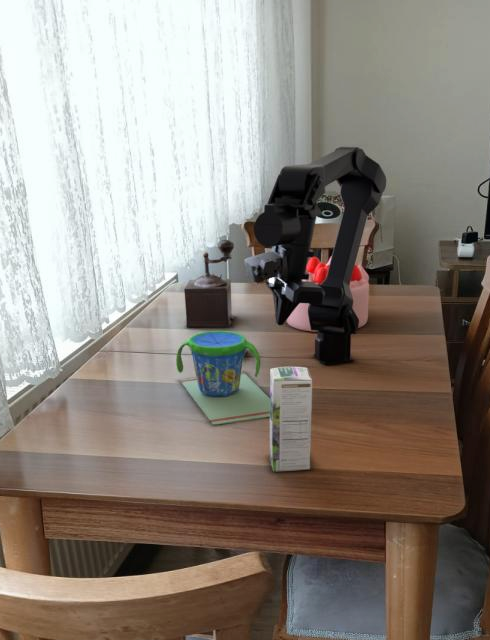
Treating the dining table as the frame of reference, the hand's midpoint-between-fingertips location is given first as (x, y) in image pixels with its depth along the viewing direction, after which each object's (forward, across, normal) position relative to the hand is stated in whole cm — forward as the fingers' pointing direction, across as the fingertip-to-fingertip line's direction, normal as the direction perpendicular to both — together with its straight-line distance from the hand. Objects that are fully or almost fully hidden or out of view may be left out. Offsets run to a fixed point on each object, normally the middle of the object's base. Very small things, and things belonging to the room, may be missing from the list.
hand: (279, 324), depth 147 cm
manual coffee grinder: (+16, -46, +6) cm, 49 cm away
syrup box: (+9, +36, -13) cm, 39 cm away
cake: (+10, -31, +29) cm, 44 cm away
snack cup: (+13, +2, -11) cm, 17 cm away
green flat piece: (+12, +6, -10) cm, 17 cm away
